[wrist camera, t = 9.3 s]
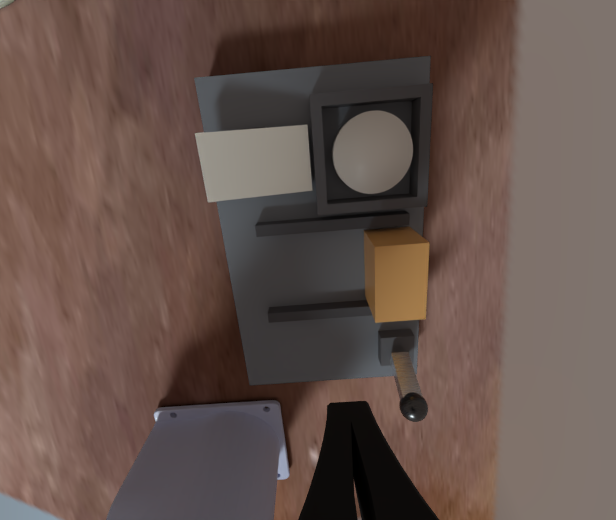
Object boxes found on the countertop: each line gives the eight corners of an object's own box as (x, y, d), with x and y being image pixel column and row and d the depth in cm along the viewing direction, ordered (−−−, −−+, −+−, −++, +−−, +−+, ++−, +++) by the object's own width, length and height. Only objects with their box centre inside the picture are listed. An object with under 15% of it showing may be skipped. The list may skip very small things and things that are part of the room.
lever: (386, 363, 19) (401, 427, 16) (388, 350, 18) (405, 415, 16) (409, 362, 19) (428, 425, 16) (412, 348, 18) (434, 413, 16)
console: (254, 365, 23) (246, 400, 20) (206, 85, 17) (184, 71, 14) (407, 355, 23) (423, 388, 20) (416, 65, 16) (441, 47, 13)
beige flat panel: (209, 199, 16) (207, 202, 15) (196, 134, 14) (194, 133, 14) (308, 188, 16) (312, 190, 16) (303, 125, 15) (307, 124, 15)
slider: (365, 295, 19) (375, 322, 16) (363, 230, 17) (374, 246, 15) (407, 292, 19) (425, 319, 16) (409, 226, 17) (429, 242, 14)
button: (333, 192, 17) (335, 196, 15) (329, 117, 15) (331, 114, 14) (403, 186, 16) (411, 190, 15) (404, 110, 15) (414, 106, 14)
